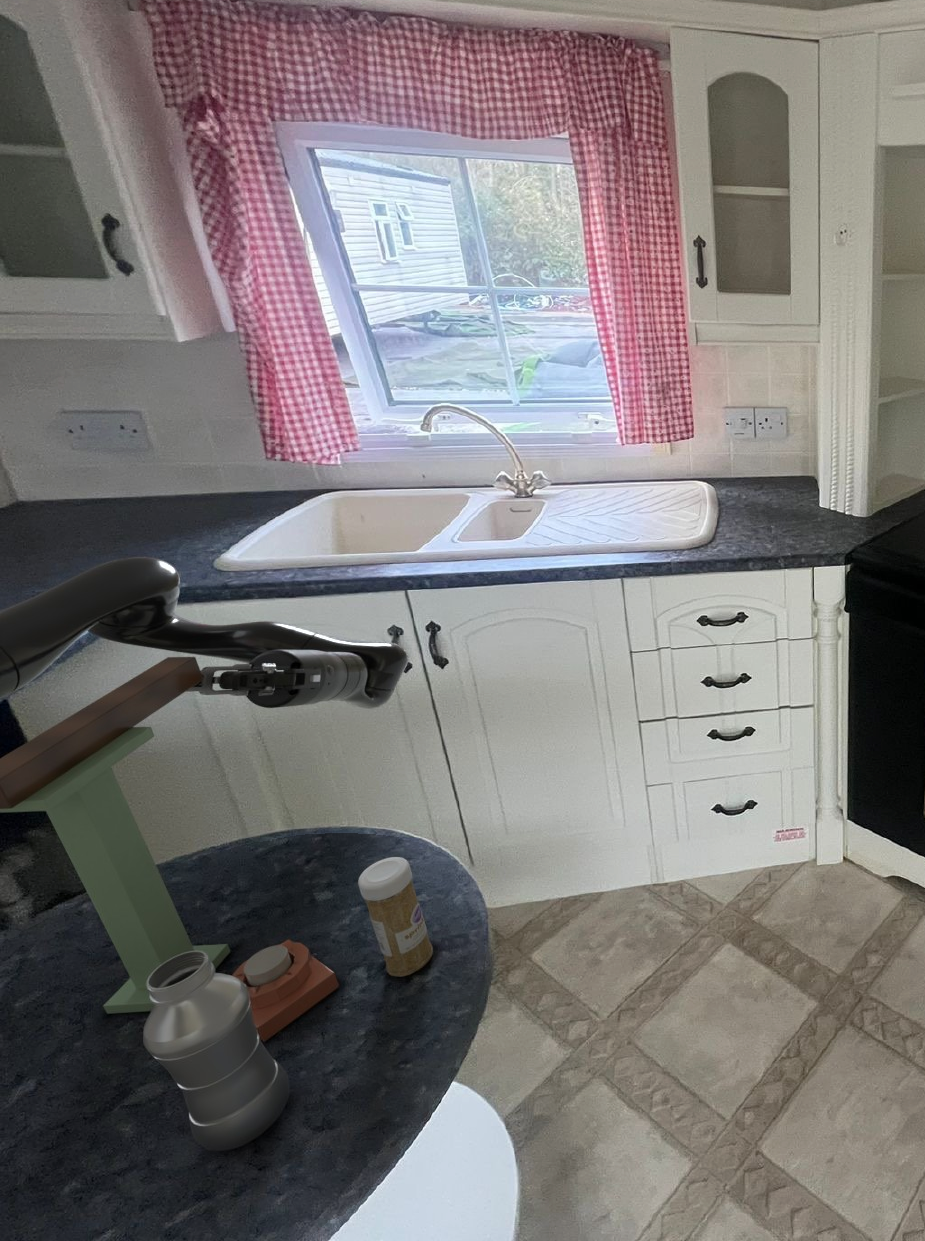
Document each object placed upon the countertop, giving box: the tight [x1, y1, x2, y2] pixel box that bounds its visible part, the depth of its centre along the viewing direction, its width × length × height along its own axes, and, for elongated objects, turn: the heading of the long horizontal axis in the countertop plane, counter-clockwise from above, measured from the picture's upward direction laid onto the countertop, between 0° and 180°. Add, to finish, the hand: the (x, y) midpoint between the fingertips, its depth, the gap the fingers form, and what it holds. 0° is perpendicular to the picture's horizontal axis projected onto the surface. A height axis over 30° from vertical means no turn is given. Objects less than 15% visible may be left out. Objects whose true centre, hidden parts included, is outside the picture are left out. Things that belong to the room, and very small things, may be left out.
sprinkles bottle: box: [357, 856, 434, 978], centre depth 82 cm, size 5×5×13 cm
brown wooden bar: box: [0, 656, 203, 809], centre depth 73 cm, size 21×3×3 cm, turn 6°
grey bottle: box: [142, 950, 291, 1152], centre depth 65 cm, size 6×7×20 cm
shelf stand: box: [0, 726, 231, 1015], centre depth 75 cm, size 11×7×30 cm, turn 6°
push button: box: [243, 944, 292, 987], centre depth 78 cm, size 4×4×2 cm
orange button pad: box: [231, 938, 340, 1043], centre depth 79 cm, size 9×7×4 cm
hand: (194, 681), depth 84 cm, fingers open, 8 cm apart
